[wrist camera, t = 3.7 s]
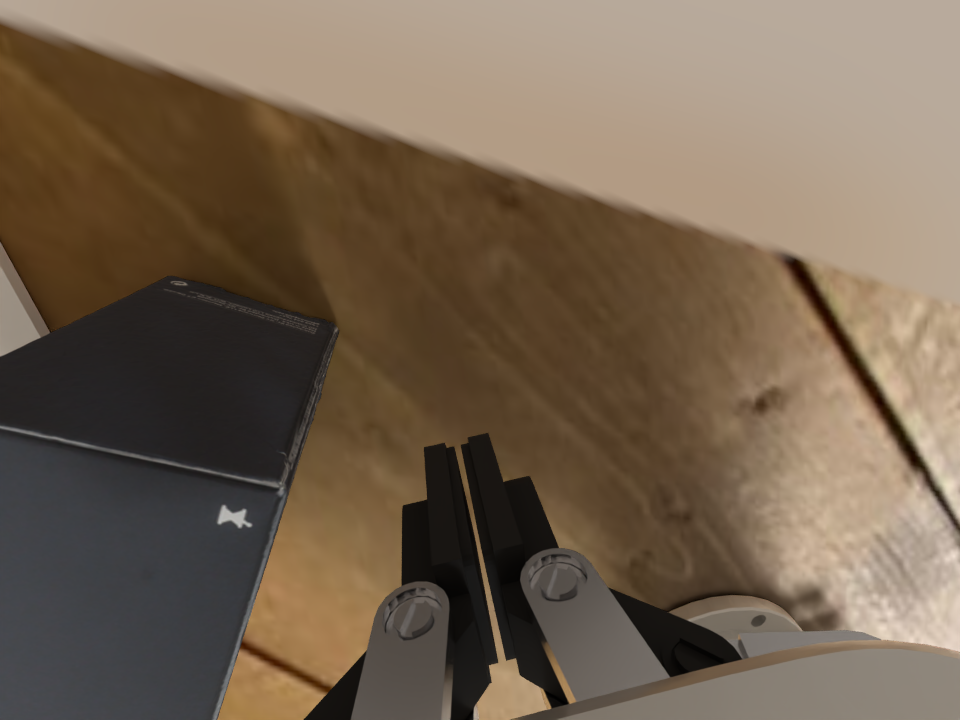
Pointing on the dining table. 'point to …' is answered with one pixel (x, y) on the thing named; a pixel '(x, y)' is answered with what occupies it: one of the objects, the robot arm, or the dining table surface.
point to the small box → (146, 497)
